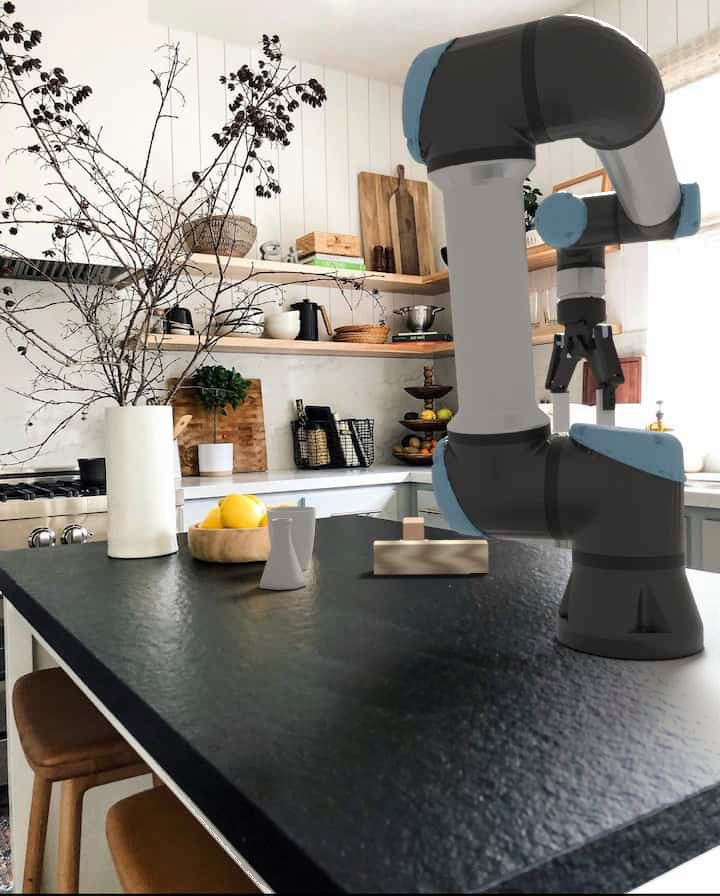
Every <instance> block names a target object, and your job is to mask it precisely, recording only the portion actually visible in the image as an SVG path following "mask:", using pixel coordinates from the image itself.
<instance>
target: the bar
mask: <svg viewBox="0 0 720 896" xmlns="http://www.w3.org/2000/svg"><path fill="white" fill-rule="evenodd" d="M425 540H426V541H400V540H375V541H374V543H373V575H471V574H470V573H488V574H489V543H488V541H487V539H465V540H464V539H462V540H461V539H453V540H452V539H450V540H449V539H443V540H442V539H441V540H440V539H439V540H436V539H435V540H429V539H425Z"/></svg>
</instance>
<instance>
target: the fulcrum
mask: <svg viewBox="0 0 720 896" xmlns="http://www.w3.org/2000/svg"><path fill="white" fill-rule="evenodd" d="M402 534H403V535H402V536H403V538H402V539H400V540H399V541H426V540H427V539H425V521H424V517H423V516H422V517H419V516H417V517H415V516H414V517H410V516H409V517H403V520H402Z"/></svg>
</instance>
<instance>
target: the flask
mask: <svg viewBox="0 0 720 896" xmlns="http://www.w3.org/2000/svg"><path fill="white" fill-rule="evenodd" d="M271 523H272V525H273V539H272V546H271V545H270V550H269V552H268V553H269V554H268V556H267V560H266V563H265V566H264V569H263V573H262V576H261V578H260V582H259V588H260V589H267V590H275V591H279V590H280V591H281V590H296V589H299V588H302V587H305V586H307V582H306V579H305V576H304V573H303V571H302V570H301V568H300V565H299V562H298V560H297V557H296V554H295V551H294V548H293V545H292V539H291V534H290V524H291V523H292V519H287V518H281V519H272V520H271Z"/></svg>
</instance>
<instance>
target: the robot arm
mask: <svg viewBox="0 0 720 896" xmlns="http://www.w3.org/2000/svg"><path fill="white" fill-rule="evenodd" d="M665 105H666V92H665V87H664V84H663V80H662V76H661V74H660V71H659V69H658V67H657V66H656V64H655V62H654V61H653V59H652V58H651V57H650V55H649V54H648V53H647V51H646V50H645V49H644V48H643V47H642V46H641V45H640V44H639V43H637V41H635V40H634V39H633V38H631V36H629V35H627V34H626V33H625V32H623V31H621V30H620V29H618V28H616V27H614V26H612V25H610V24H609V23H606V22H604V21H601V20H598V19H595V18H594V17H589V16H585V15H579V14H564V13H562V14H553V15H550V16H545V17H541V18H540V19H536V20H531V21H528V22H523V23H519V24H515V25H511V26H506V27H501V28H497V29H492V30H487V31H484V32H479V33H474V34H469V35H465V36H461V37H459V36H456V37H453V38H451V39H449V40H448V41H446V42H444V43H439V44H436V45H432V46H430V47H427V48H425V49H423V50H422V51H420V52H419V53H418V54H417V55H416V56H415V58H414V59H413V61H412V62H411V65H410V67H409V68H408V70H407V74H406V77H405V80H404V85H403V89H402V98H401V121H402V122H401V124H402V125H401V126H402V131H403V136H404V138H406V139H407V140H406V147H407V150H408V153H409V155H410V156H411V158H412V159H413V160H414V161H415V162H416V163H418V164H420V165H424V166H426V176H427V180H428V181H429V182H431V183H432V184H433V185H434V186H435V187H436V188H437V189H438V190H440V192H441V193H442V201H443V215H444V229H445V242H446V255H447V269H448V280H449V281H448V282H449V294H450V306H451V309H450V310H451V319H452V323H451V324H452V333H453V334H452V335H453V336H452V337H453V345H454V358H455V359H454V360H455V373H456V375H455V376H456V386H457V389H456V390H457V398H458V399H457V400H458V401H457V402H458V409H457V412H456V414H454V416H453V417H452V418H451V420H450V421H448V423H447V424H446V433H447V435H446V436H445V437H444V438H443V437H442V438H440V440H439V441H437V443H436V445H435V447H434V449H433V454H432V461H433V464H432V465H431V484H432V490H433V494H434V498H435V503H436V506H437V508H438V511H439V512H440V515H441V517H442V519H443V520H444V521H445V523H447V525H448V526H449V527H450V528H451V529H452V530H453V531H454V532H456V533H458V534H462V535H466V536H476V537H482V538H485V539H487V540H488V539H492V540H494V539H496V538H502V539H522V540H523V539H524V540H542V541H543V540H544V541H545V540H546V541H566V542H567V541H568V542H570V544H571V545H570V546H571V568H570V573H569V576H568V578H567V582H566V585H565V589H564V591H563V594H562V598H561V601H560V603H559V604H560V605H559V606H558V610H557V614H556V616H555V637H556V639H557V641H559V643H560V644H563V645H564V646H567V647H569V648H571V649H574V650H577V651H580V652H584V653H587V654H588V653H589V654H592V655H596V656H597V655H598V656H603V657H608V658H609V657H611V658H619V659H620V658H621V659H629V660H630V659H631V660H632V659H634V660H663V659H675V658H681V657H687V656H690V655H694V654H696V653H698V652H701V650H702V649H703V648H704V644H705V643H704V639H705V638H704V637H705V636H704V635H705V634H704V623H703V620H702V618H701V614H700V611H699V608H698V606H697V603H696V600H695V597H694V593H693V591H692V588H691V584H690V582H689V580H688V579H689V578H688V576H687V573H686V572H687V571H686V532H685V531H686V530H685V527H686V526H685V522H686V520H685V517H686V516H685V483H687V479H688V477H687V475H686V473H685V462H684V461H685V460H684V459H685V458H684V449H683V444H682V442H681V441H680V440H679V438H677V437H676V436H675V435H674V434H671V433H668V432H663V431H657V430H650V429H642V428H637V427H636V428H635V427H634V428H633V427H626V426H618V425H617V426H616V390H617V389H618V387H619V386H620V385H624V384H625V382H626V381H625V380H626V379H625V374H624V370H623V368H622V365H621V361H620V358H619V355H618V352H617V348H616V344H615V340H614V338H613V326H612V325H611V324H603V323H605V322H606V320H607V304H606V303H607V302H606V300H605V298H602V297H604V295H606V283H607V280H606V247H610V246H611V247H612V246H619V245H627V244H637V243H647V242H656V241H658V242H660V241H667V240H669V241H673V240H676V239H681V238H686V237H691V236H694V235H697V233H698V232H699V230H700V227H701V221H702V219H701V218H702V210H701V209H702V208H701V207H702V206H701V205H702V204H701V203H702V202H701V191H700V190H701V189H700V186H699V184H698V182H696V181H693V180H687V181H686V180H684V181H683V180H678V179H679V178H678V176H677V172H676V169H675V164H674V161H673V158H672V155H671V154H672V153H671V151H670V147H669V143H668V139H667V136H666V132H665V128H664V124H663V121H662V116H663V113H664V110H665ZM569 139H570V140H571V139H580V141H581V142H582V143H584V144H585V145H587V146H588V147H590V148H591V149H594V151H595V152H596V154H597V157H598V159H599V160H600V163H601V165H602V167H603V169H604V171H605V173H606V176H607V178H608V179H609V182H610V184H611V186H612V188H613V190H614V191H608V192H607V191H606V192H600V193H593V194H585V195H577V194H575V193H573V192H572V193H571V192H568V191H557V192H556V191H555V192H553V193H551V194H549V195H548V196H546V197H545V198H543V200H541V202H540V203H539V205H538V207H537V208H536V211H535V215H534V220H533V221H534V228H535V231H536V233H537V234H538V236H539V237H540V239H541V240H542V241H543V242H544V244H545V245H547V246H548V247H551V248H553V249H554V250H555V251H556V252H555V253H556V255H555V256H556V273H555V274H556V275H555V277H556V298H557V299H559V301H558V302H557V304H556V322H557V323H558V325H560V326H563V327H564V333H559V332H557V333H554V335H553V346H552V351H551V355H550V359H549V361H550V362H549V365H548V369H547V374H546V378H545V383H544V389H545V391H547V390H548V391H549V392H550V393H551V394H552V424H551V418H550V417H551V416H549V415H548V414H547V413H546V412H544V411H543V410H542V409H541V408H540V407H539V406H538V404H537V403H536V390H535V389H536V388H535V387H536V386H535V370H534V356H533V354H534V353H533V339H532V338H533V336H532V319H531V316H532V315H531V305H530V304H531V303H530V302H531V301H530V300H531V299H530V285H529V284H530V282H529V268H528V266H529V265H528V252H527V251H528V250H527V248H528V247H527V234H526V215H525V214H526V213H525V199H524V197H525V196H524V182H525V181H526V179H527V178H528V177H529V175H530V174H531V173H532V172H533V170H534V169H535V168H536V166H537V151H536V149H537V146H538V145H545V144H549V143H554V142H556V141H557V142H558V141H564V140H569ZM582 359H585V360H586V361H587V363H588V366H589V368H590V371H592V375H593V376H594V379H595V380H596V382H597V384H596V387H595V389H596V390H595V398H596V399H595V403H596V404H595V407H596V408H595V410H596V411H595V412H596V415H595V416H596V418H595V420H596V424H595V423H584V422H575V423H572V424H571V423H570V422H571V420H570V419H571V416H570V415H571V414H570V412H571V411H570V410H571V409H570V405H571V403H570V392H571V391H570V389H569V388H568V387H569V385H570V384H571V383H570V382H571V380H572V378H573V375H574V372H575V370H576V367H577V365H578V363H579V362H580V361H582ZM551 426H552V427H551ZM552 432H553V433H568V435H559V436H558V435H552Z"/></svg>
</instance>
